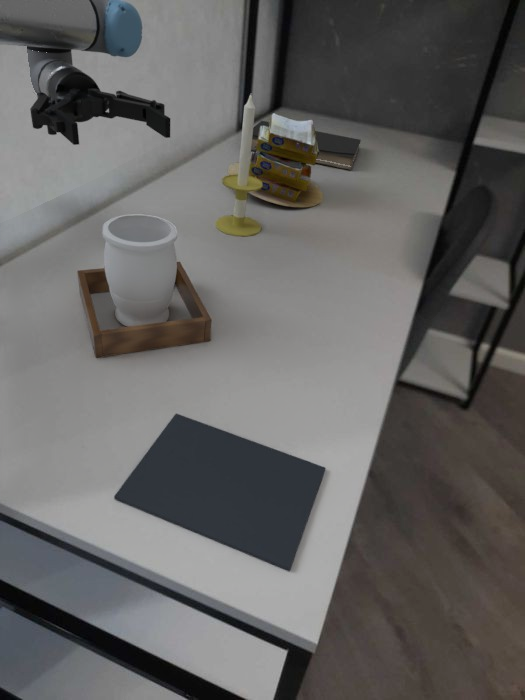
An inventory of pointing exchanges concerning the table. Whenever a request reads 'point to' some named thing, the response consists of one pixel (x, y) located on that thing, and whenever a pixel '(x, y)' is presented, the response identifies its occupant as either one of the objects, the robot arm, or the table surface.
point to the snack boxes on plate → (285, 162)
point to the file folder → (326, 147)
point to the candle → (242, 183)
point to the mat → (226, 489)
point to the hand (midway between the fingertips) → (124, 131)
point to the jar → (140, 267)
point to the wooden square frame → (150, 333)
